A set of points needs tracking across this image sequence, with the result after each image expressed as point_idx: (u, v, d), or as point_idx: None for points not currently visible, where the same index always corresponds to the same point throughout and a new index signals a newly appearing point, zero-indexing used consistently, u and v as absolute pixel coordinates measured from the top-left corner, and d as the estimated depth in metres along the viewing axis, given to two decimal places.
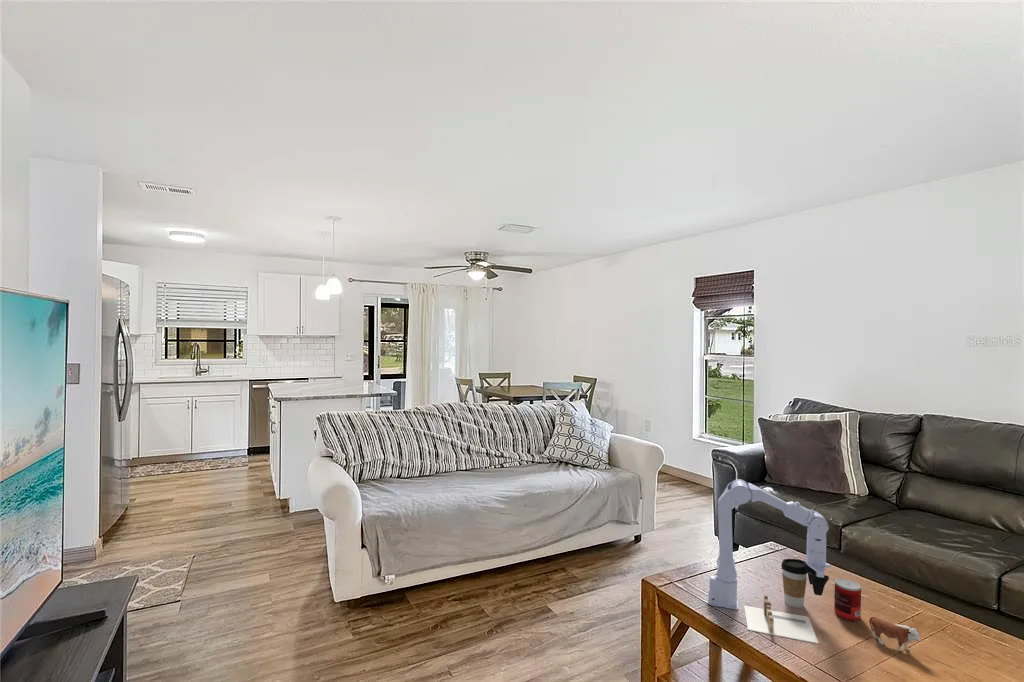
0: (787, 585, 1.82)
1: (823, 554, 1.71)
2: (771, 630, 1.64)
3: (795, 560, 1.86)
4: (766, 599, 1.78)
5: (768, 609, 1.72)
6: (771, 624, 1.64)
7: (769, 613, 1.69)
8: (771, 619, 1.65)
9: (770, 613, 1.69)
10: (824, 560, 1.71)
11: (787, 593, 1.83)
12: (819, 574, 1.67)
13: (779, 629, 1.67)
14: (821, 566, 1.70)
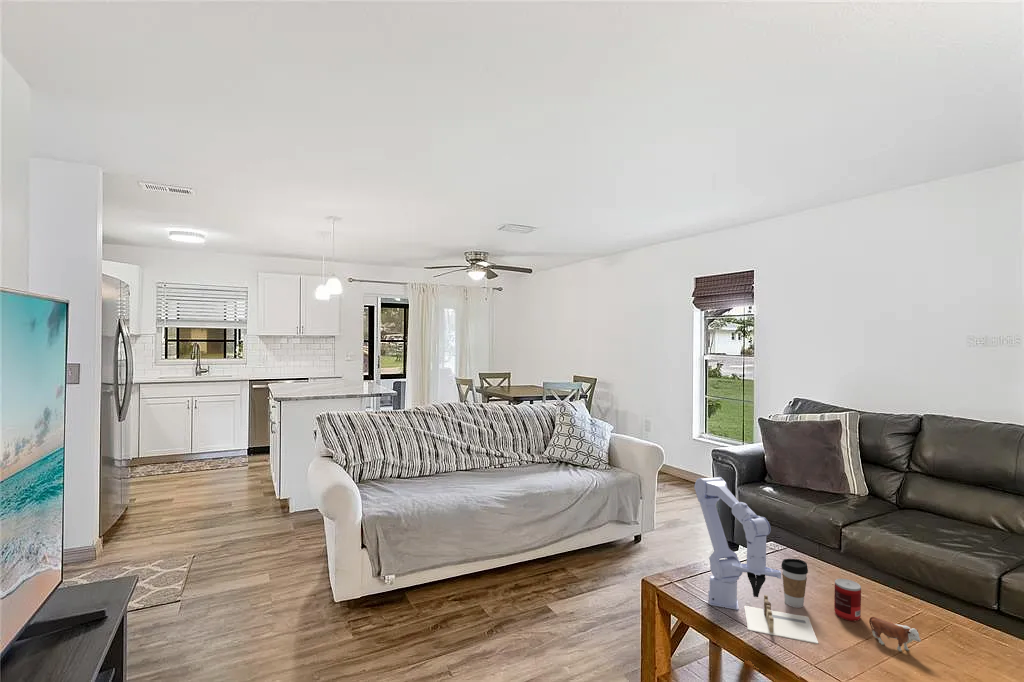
0: (787, 585, 1.82)
1: (749, 557, 1.68)
2: (771, 630, 1.64)
3: (795, 560, 1.86)
4: (766, 599, 1.78)
5: (768, 609, 1.72)
6: (771, 624, 1.64)
7: (769, 613, 1.69)
8: (771, 619, 1.65)
9: (770, 613, 1.69)
10: (750, 564, 1.68)
11: (787, 593, 1.83)
12: (732, 567, 1.72)
13: (779, 629, 1.67)
14: (747, 567, 1.69)
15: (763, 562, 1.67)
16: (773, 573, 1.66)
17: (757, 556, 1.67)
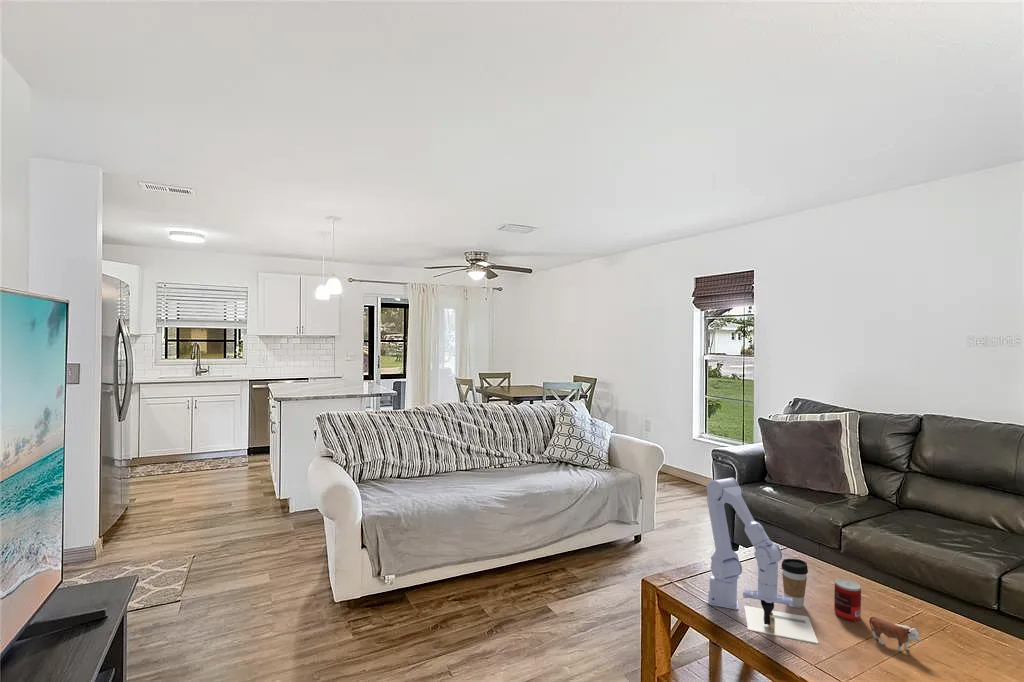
0: (787, 585, 1.82)
1: (760, 584, 1.67)
2: (772, 630, 1.64)
3: (795, 560, 1.86)
4: None
5: None
6: (772, 624, 1.64)
7: (770, 613, 1.69)
8: (772, 619, 1.65)
9: (771, 613, 1.68)
10: (761, 591, 1.67)
11: (787, 593, 1.83)
12: (743, 593, 1.71)
13: (779, 629, 1.67)
14: (758, 595, 1.68)
15: (775, 590, 1.65)
16: (785, 601, 1.65)
17: (770, 584, 1.65)
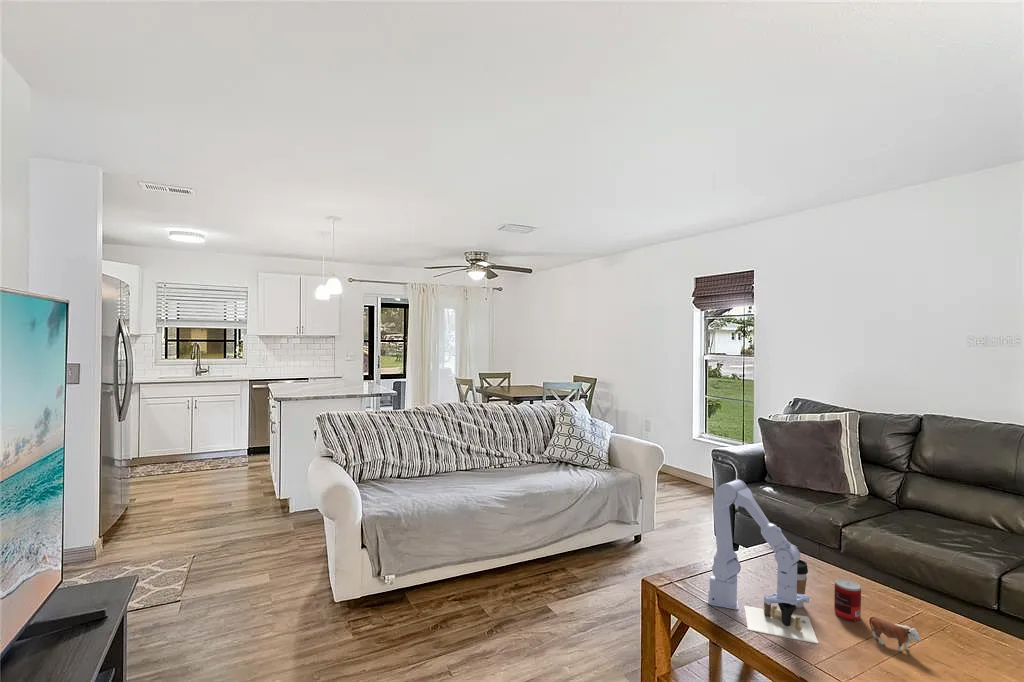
0: None
1: (784, 587, 1.65)
2: (800, 629, 1.65)
3: None
4: None
5: (777, 609, 1.72)
6: (800, 623, 1.65)
7: None
8: (799, 618, 1.66)
9: None
10: (785, 594, 1.65)
11: None
12: (765, 600, 1.67)
13: (779, 629, 1.67)
14: (780, 598, 1.66)
15: (796, 590, 1.66)
16: (803, 599, 1.67)
17: (792, 585, 1.65)
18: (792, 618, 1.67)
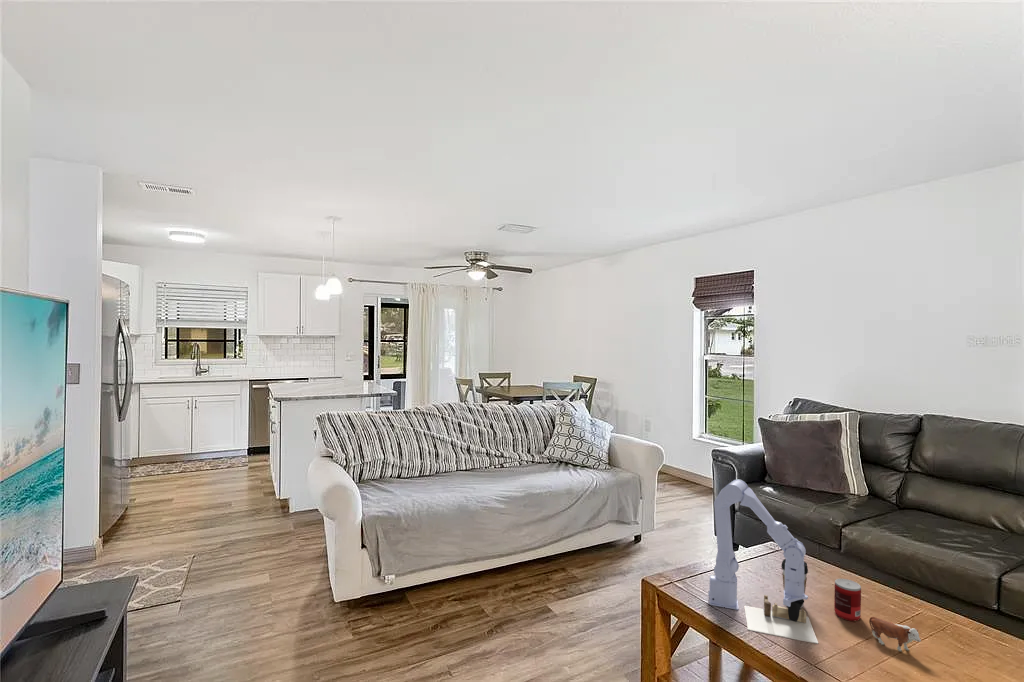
0: None
1: (797, 584, 1.67)
2: (805, 621, 1.70)
3: None
4: (766, 599, 1.78)
5: (779, 607, 1.73)
6: None
7: None
8: None
9: None
10: (798, 591, 1.67)
11: None
12: (785, 602, 1.65)
13: (779, 629, 1.67)
14: (794, 596, 1.67)
15: None
16: None
17: (801, 581, 1.67)
18: None
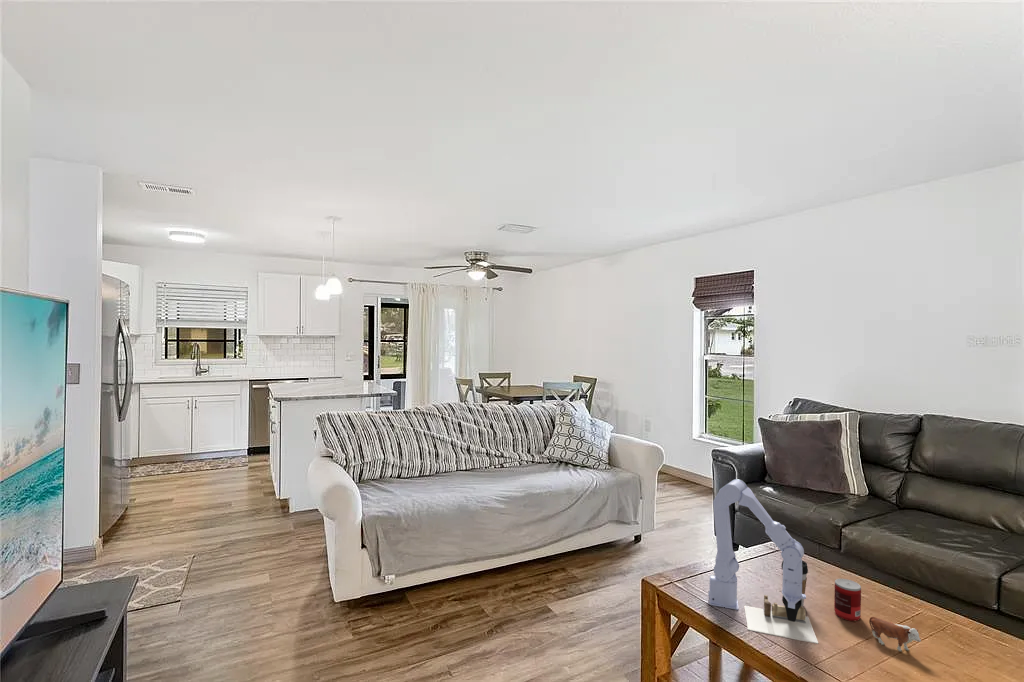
0: None
1: (798, 585, 1.67)
2: None
3: None
4: (766, 599, 1.78)
5: (779, 606, 1.74)
6: None
7: None
8: None
9: None
10: (799, 591, 1.67)
11: None
12: (790, 605, 1.64)
13: (779, 629, 1.67)
14: (795, 597, 1.67)
15: None
16: None
17: (799, 582, 1.67)
18: None
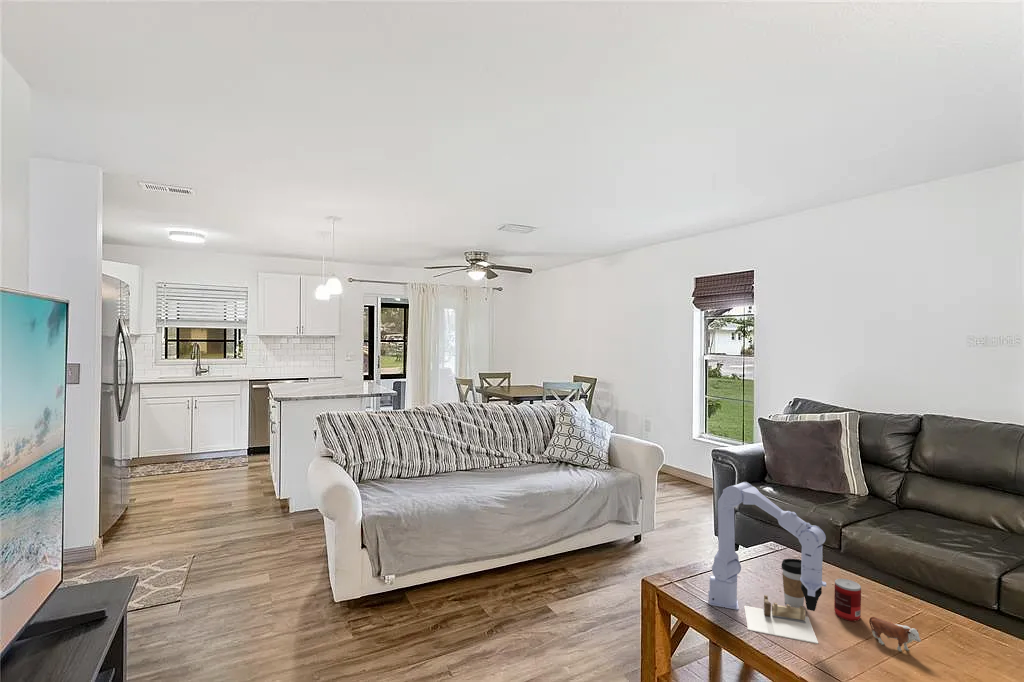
0: (787, 585, 1.82)
1: (818, 572, 1.58)
2: None
3: (795, 560, 1.86)
4: (766, 599, 1.78)
5: (779, 606, 1.74)
6: None
7: None
8: None
9: None
10: (819, 578, 1.58)
11: (787, 593, 1.82)
12: (810, 593, 1.55)
13: (779, 629, 1.67)
14: (815, 584, 1.58)
15: None
16: None
17: (817, 568, 1.58)
18: (797, 610, 1.72)
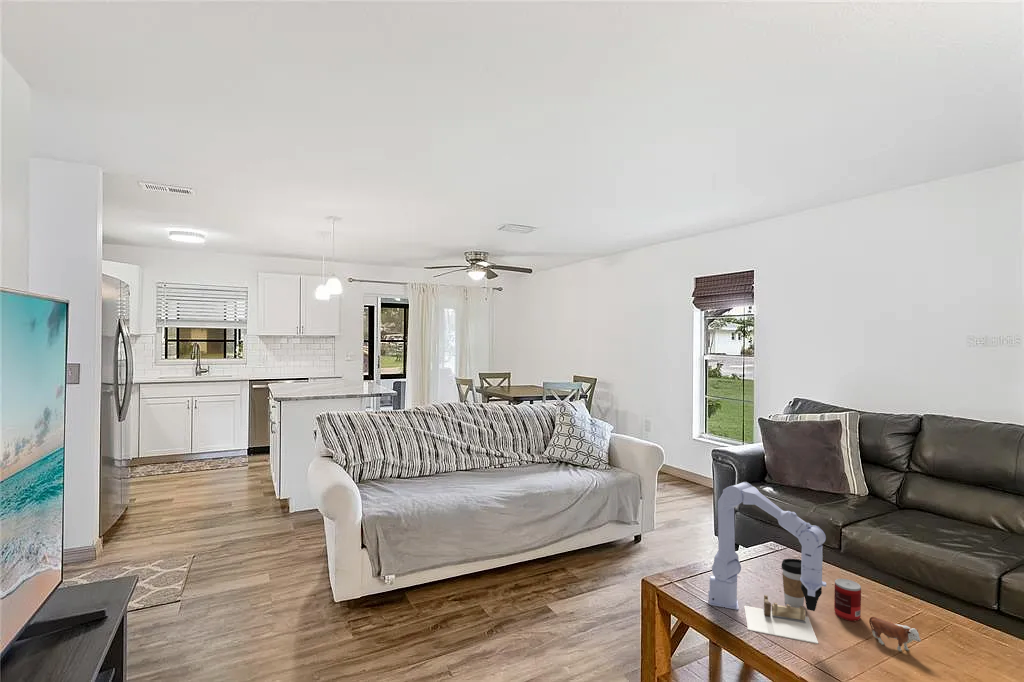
0: (787, 585, 1.82)
1: (818, 572, 1.58)
2: None
3: (795, 560, 1.86)
4: (766, 599, 1.78)
5: (779, 606, 1.74)
6: None
7: None
8: None
9: None
10: (819, 578, 1.58)
11: (787, 593, 1.82)
12: (810, 593, 1.55)
13: (779, 629, 1.67)
14: (815, 584, 1.58)
15: None
16: None
17: (817, 568, 1.58)
18: (797, 610, 1.72)
